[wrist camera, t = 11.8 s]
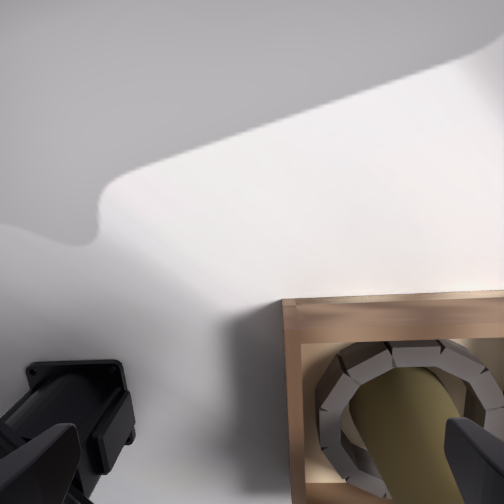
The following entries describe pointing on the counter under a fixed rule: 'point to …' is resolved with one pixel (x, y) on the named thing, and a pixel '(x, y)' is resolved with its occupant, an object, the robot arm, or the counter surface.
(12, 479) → the robot arm
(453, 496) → the olive knobbed peg
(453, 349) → the socket box
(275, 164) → the counter surface
